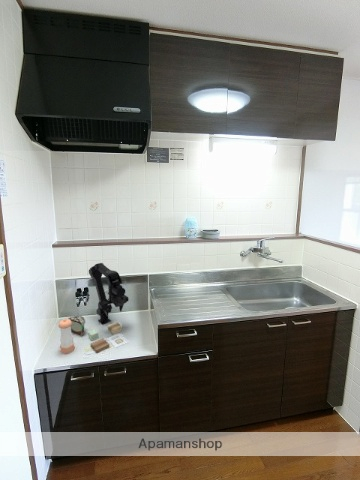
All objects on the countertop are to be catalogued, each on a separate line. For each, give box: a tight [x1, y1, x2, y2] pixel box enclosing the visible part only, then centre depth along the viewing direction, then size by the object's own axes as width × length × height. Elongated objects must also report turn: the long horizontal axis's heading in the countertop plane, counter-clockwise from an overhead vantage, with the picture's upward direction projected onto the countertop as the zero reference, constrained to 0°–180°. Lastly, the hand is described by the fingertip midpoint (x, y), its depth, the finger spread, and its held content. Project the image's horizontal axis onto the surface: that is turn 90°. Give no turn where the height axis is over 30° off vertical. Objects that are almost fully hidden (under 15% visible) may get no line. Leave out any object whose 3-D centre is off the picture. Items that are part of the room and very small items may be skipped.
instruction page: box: [106, 332, 130, 349], centre depth 154 cm, size 12×9×1 cm
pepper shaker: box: [57, 318, 75, 355], centre depth 142 cm, size 7×7×19 cm
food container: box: [67, 315, 86, 337], centre depth 161 cm, size 12×6×10 cm, turn 65°
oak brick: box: [107, 321, 123, 335], centre depth 164 cm, size 6×6×4 cm
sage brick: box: [87, 329, 100, 342], centre depth 155 cm, size 4×4×4 cm
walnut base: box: [90, 337, 111, 354], centre depth 147 cm, size 8×8×2 cm
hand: (114, 313), depth 162 cm, fingers open, 9 cm apart
